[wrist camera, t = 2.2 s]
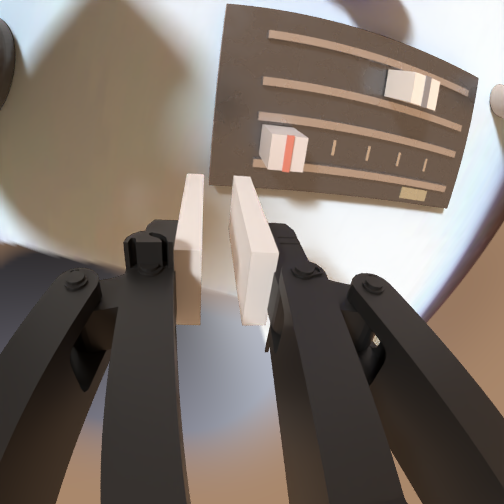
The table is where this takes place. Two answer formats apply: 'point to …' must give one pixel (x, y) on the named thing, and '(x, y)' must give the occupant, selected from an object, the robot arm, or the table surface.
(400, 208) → the table surface
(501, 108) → the beverage can
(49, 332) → the robot arm
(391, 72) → the fader
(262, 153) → the fader
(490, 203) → the table surface
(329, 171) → the console
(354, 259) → the table surface
